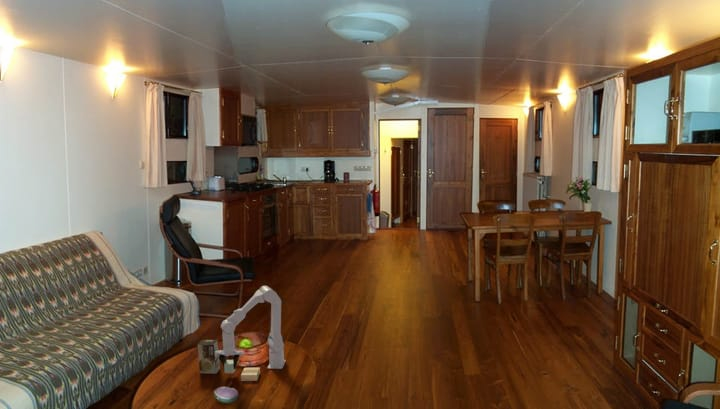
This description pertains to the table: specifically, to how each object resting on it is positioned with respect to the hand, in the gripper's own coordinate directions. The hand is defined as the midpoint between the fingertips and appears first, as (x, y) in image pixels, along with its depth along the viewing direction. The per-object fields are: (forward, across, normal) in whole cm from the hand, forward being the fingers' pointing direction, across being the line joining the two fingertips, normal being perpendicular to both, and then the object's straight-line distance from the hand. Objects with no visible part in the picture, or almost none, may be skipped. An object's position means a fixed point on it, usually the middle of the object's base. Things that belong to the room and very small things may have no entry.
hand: (230, 368), depth 256 cm
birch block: (+5, +10, 0) cm, 11 cm away
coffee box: (+5, -13, +6) cm, 15 cm away
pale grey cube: (+2, 0, 0) cm, 2 cm away
